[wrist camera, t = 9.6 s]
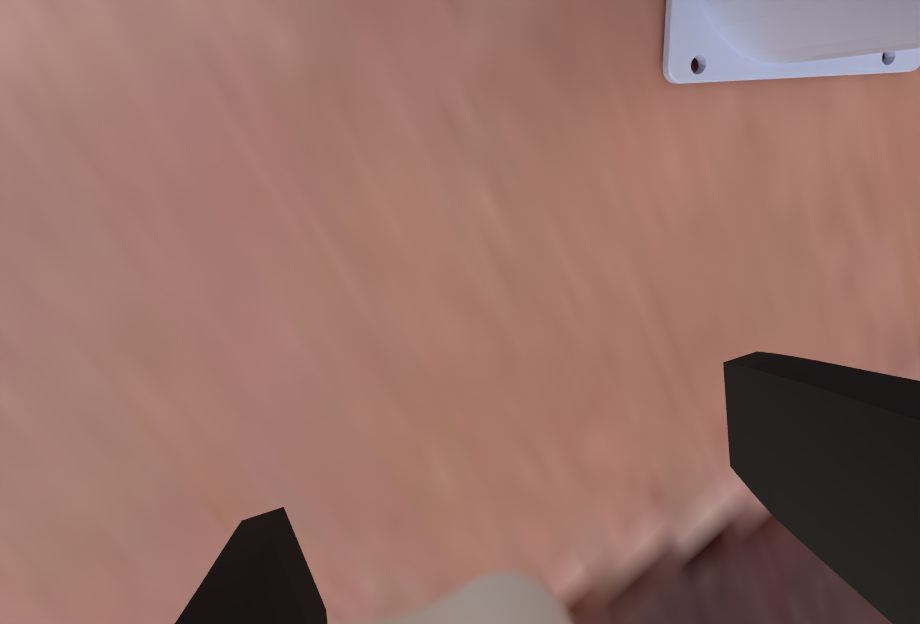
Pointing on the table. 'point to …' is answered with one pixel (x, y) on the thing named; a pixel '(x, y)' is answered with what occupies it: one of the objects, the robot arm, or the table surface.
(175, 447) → the table surface
